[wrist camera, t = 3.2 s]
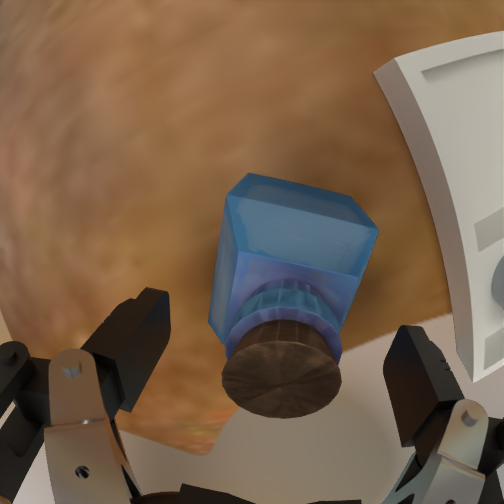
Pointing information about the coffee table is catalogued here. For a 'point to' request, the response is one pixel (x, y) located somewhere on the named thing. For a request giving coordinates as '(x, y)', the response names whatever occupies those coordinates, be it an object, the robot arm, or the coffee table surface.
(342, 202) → the perfume bottle
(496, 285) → the grey rounded cylinder
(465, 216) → the tray
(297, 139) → the coffee table surface
